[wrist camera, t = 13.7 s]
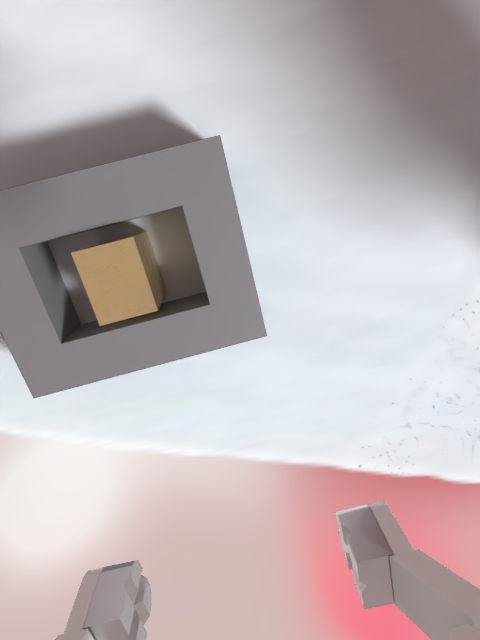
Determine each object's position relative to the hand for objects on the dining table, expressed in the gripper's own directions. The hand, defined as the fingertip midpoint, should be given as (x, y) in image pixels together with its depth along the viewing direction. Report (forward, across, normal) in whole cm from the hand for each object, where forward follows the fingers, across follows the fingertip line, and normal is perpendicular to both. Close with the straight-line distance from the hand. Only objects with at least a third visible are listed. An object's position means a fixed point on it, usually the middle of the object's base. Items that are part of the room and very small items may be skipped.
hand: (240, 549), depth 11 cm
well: (+22, +6, -6) cm, 23 cm away
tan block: (+21, +6, -6) cm, 23 cm away
